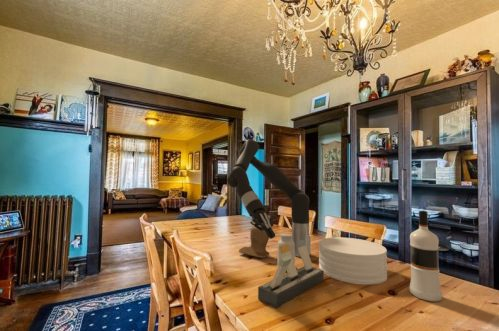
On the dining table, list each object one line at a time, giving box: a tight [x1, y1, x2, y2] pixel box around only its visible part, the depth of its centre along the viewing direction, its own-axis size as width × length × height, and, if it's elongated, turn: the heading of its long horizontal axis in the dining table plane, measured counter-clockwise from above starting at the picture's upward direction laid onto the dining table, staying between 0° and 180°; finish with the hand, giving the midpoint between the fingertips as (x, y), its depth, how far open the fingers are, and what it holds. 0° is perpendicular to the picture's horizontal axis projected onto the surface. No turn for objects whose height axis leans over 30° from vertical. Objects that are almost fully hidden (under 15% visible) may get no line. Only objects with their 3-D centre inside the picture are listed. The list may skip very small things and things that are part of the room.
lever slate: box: [296, 240, 314, 271], centre depth 97 cm, size 1×4×12 cm, turn 135°
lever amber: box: [279, 245, 298, 280], centre depth 90 cm, size 1×4×12 cm, turn 135°
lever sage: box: [270, 256, 292, 289], centre depth 79 cm, size 1×4×12 cm, turn 134°
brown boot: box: [238, 225, 270, 259], centre depth 126 cm, size 15×12×15 cm
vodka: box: [408, 210, 443, 303], centre depth 84 cm, size 9×9×30 cm
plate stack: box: [318, 236, 388, 285], centre depth 106 cm, size 28×28×12 cm
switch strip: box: [257, 266, 325, 309], centre depth 87 cm, size 8×30×4 cm, turn 134°
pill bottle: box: [276, 233, 296, 272], centre depth 108 cm, size 8×8×15 cm
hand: (273, 237), depth 95 cm, fingers closed
